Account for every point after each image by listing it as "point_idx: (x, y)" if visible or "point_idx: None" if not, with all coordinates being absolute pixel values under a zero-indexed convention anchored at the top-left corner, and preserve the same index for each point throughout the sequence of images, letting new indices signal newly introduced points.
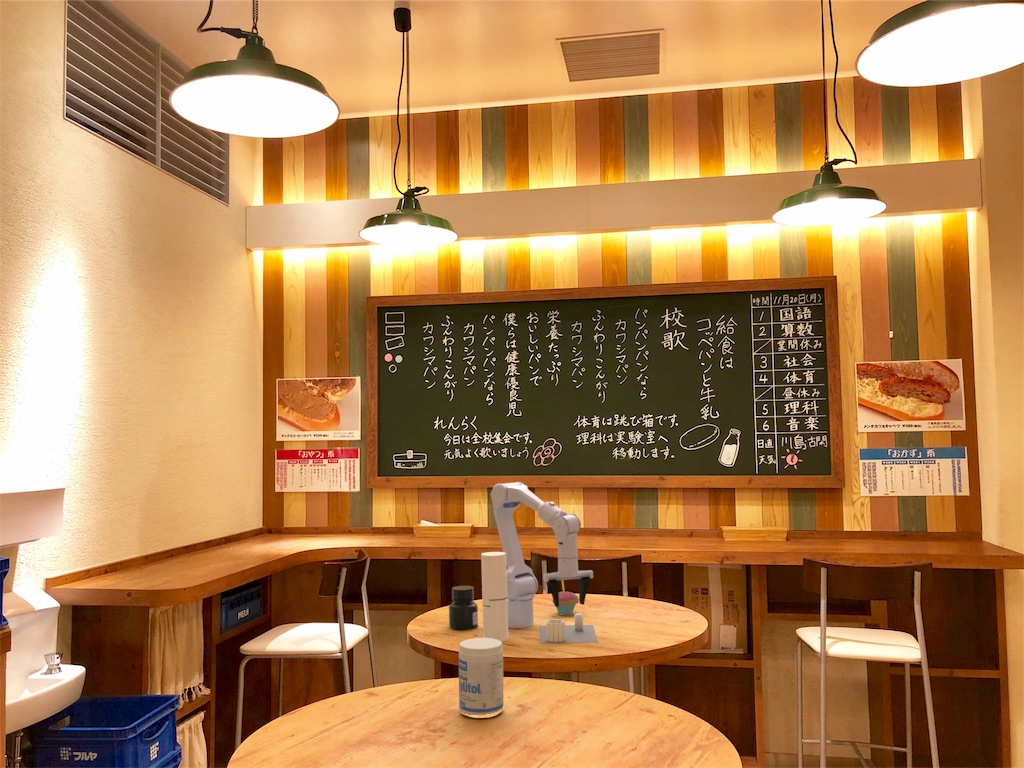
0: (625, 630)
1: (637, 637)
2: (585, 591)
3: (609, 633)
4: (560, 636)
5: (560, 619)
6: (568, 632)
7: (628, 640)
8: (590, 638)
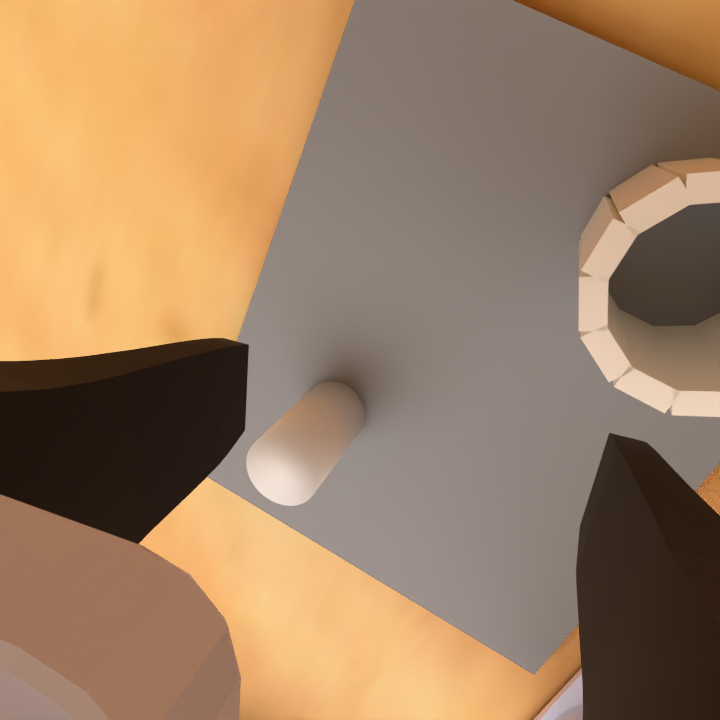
0: (49, 292)
1: (28, 73)
2: (68, 366)
3: (160, 283)
4: (694, 161)
5: (590, 351)
6: (441, 399)
7: (105, 18)
8: (374, 116)
